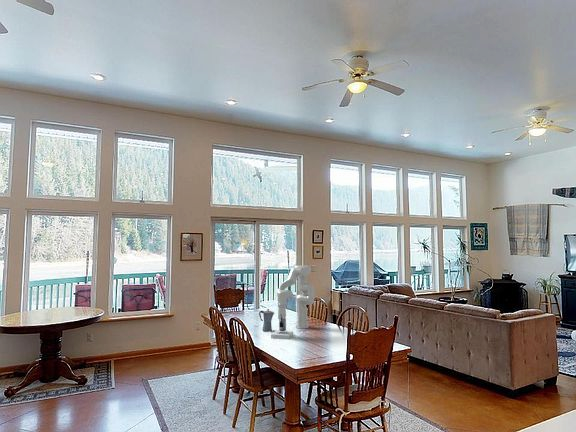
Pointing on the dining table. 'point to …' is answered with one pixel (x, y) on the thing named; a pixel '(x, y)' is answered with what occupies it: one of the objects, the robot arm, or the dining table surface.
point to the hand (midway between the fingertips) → (282, 326)
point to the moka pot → (267, 319)
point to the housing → (282, 334)
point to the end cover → (283, 325)
